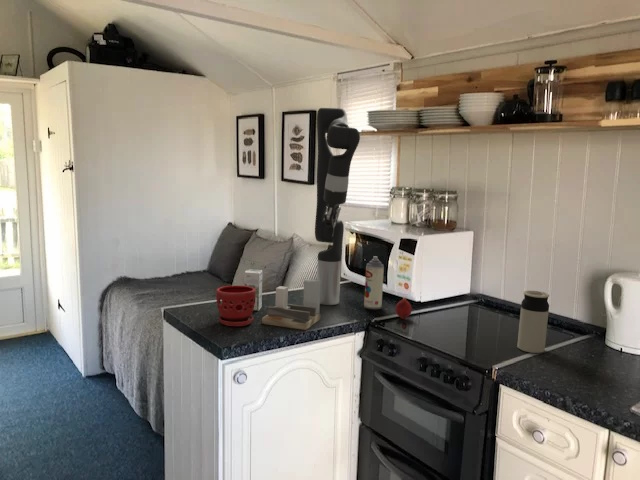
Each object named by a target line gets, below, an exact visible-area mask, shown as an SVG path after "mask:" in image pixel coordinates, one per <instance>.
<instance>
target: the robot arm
mask: <svg viewBox="0 0 640 480" xmlns="http://www.w3.org/2000/svg"><path fill="white" fill-rule="evenodd" d="M316 132H317V133H316V135H317V136H316V137H317V139H316V140H317V160H316V161H317V163H316V165H317V167H316V211H315V222H314V238H315V240H316V241H317V242H319V243H329V244H332V246H330V247H329V248H328V249H325V250H321V251H319V252H318V253H317V265H316V266H317V268H316V269H317V271H316V272H317V273H316V280H320V305H324V306H334V305H338V304H339V303H340V293H341V292H340V289H341V269H342V268H341V267H342V254H343V253H342V252H343V240H344V231H345V229H344V222H343V221H342V220H341V219H339V216H340V213H341V210H342V207H341V206H340V205H343V204H346V201H347V196H348V195H347V194H348V188H349V182H350V181H349V177H350V170H351V163H352V160H353V157H354V155H355V152H356V150H357V148H358V146H359V143H360V140H361V135H360V132H359V129H357V128H355V127H350V126H349V121H348V115H347V112H346V110H345V109H343V108H340V107H320V108H319V109H318V110H317V113H316ZM331 148H332V149H337V150H338V149H340V150H345V152H344V153H341V154H334V153H333V152H332V149H331Z"/></svg>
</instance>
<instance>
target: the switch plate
mask: <svg viewBox="0 0 640 480" xmlns="http://www.w3.org/2000/svg"><path fill="white" fill-rule="evenodd" d="M287 306H289V307H290V309H285V308H278V307H275V306H268V307H267V314H266V315H264V316H263V317H261V324H264V325H269V326H274V327H275V326H276V327H277V326H278V327H283V328H288V329H289V328H290V329H295V330H296V329H297V330H304V331H307V330H308V329H310V327H312V326H313V325H314V324H315V323H317V322H319V321H320V320H321V313H320V312H319V313H316V307H309V306H303V305H301V304H300V305H299V304H293V303H287Z"/></svg>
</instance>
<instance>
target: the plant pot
mask: <svg viewBox="0 0 640 480" xmlns="http://www.w3.org/2000/svg"><path fill="white" fill-rule="evenodd" d="M215 291H216V293H215V295H216V296H215V297H216V306H217V309H218V313H219V315H220V316H219V317H218V321H219V323H221V324H222V325H224V326H228V327H246V326H247V325H250V324H251V323H252V322H253V321H254V316H253V315H252V314H253V312H254V311H253V310H254V306H255V298H256V290H255V288H253V287H249V286H244V285H226V286H221V287H218V288H217V289H216V290H215ZM221 302H222V303H221Z"/></svg>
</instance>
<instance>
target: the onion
mask: <svg viewBox="0 0 640 480" xmlns="http://www.w3.org/2000/svg"><path fill="white" fill-rule="evenodd" d="M412 308H413V307H412V305H411V303H410V302H409V301H408V300H407V297H403V298H402V299H401V300H399V302H397V303H396V305H395V310H394V311H395V314H396V315H397V316H398V317H399V318H400V319H401V320H405V319H406V318H408V317H409V316H410V315H411V314H412V311H413V309H412Z"/></svg>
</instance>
